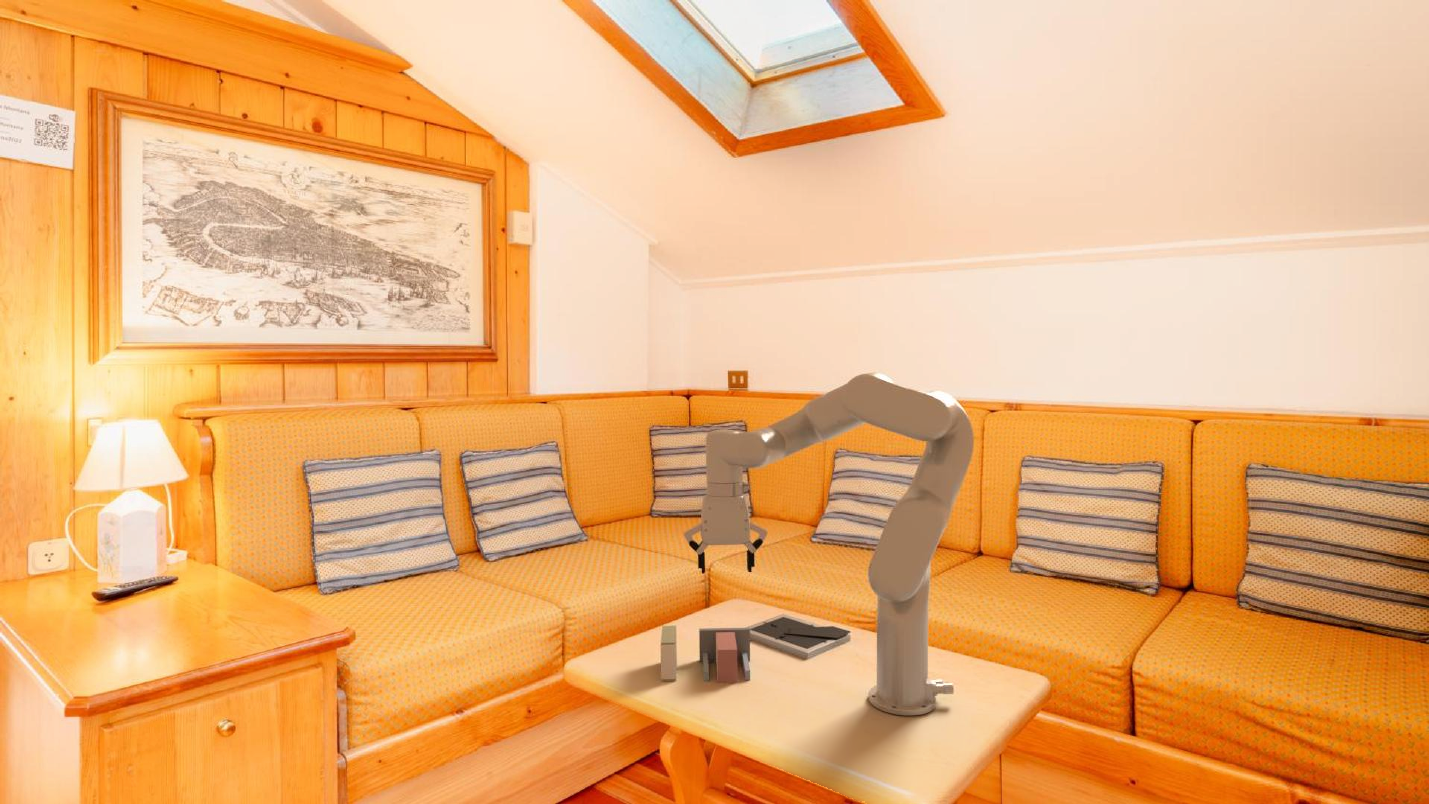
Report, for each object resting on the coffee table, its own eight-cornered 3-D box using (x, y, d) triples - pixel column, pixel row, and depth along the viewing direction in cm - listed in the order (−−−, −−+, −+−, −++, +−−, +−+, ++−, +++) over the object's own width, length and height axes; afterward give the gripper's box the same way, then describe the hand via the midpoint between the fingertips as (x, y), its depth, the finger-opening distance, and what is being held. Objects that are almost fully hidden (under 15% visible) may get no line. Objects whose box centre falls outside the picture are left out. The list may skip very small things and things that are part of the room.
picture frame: (850, 643, 182) (783, 622, 197) (850, 631, 182) (782, 611, 196) (807, 662, 171) (739, 638, 186) (807, 649, 171) (739, 626, 186)
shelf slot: (749, 658, 171) (749, 627, 171) (753, 680, 160) (753, 646, 160) (699, 659, 171) (699, 628, 170) (700, 681, 160) (700, 647, 159)
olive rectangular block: (676, 661, 170) (676, 625, 170) (676, 680, 160) (675, 642, 159) (662, 662, 170) (662, 625, 169) (661, 681, 160) (660, 643, 159)
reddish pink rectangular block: (734, 663, 169) (734, 632, 168) (737, 683, 159) (737, 649, 158) (716, 664, 169) (715, 632, 168) (717, 683, 159) (717, 649, 158)
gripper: (764, 485, 166) (765, 565, 167) (683, 487, 165) (684, 567, 166) (768, 491, 158) (769, 575, 159) (682, 493, 158) (684, 577, 158)
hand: (726, 571), depth 162 cm, fingers open, 9 cm apart
